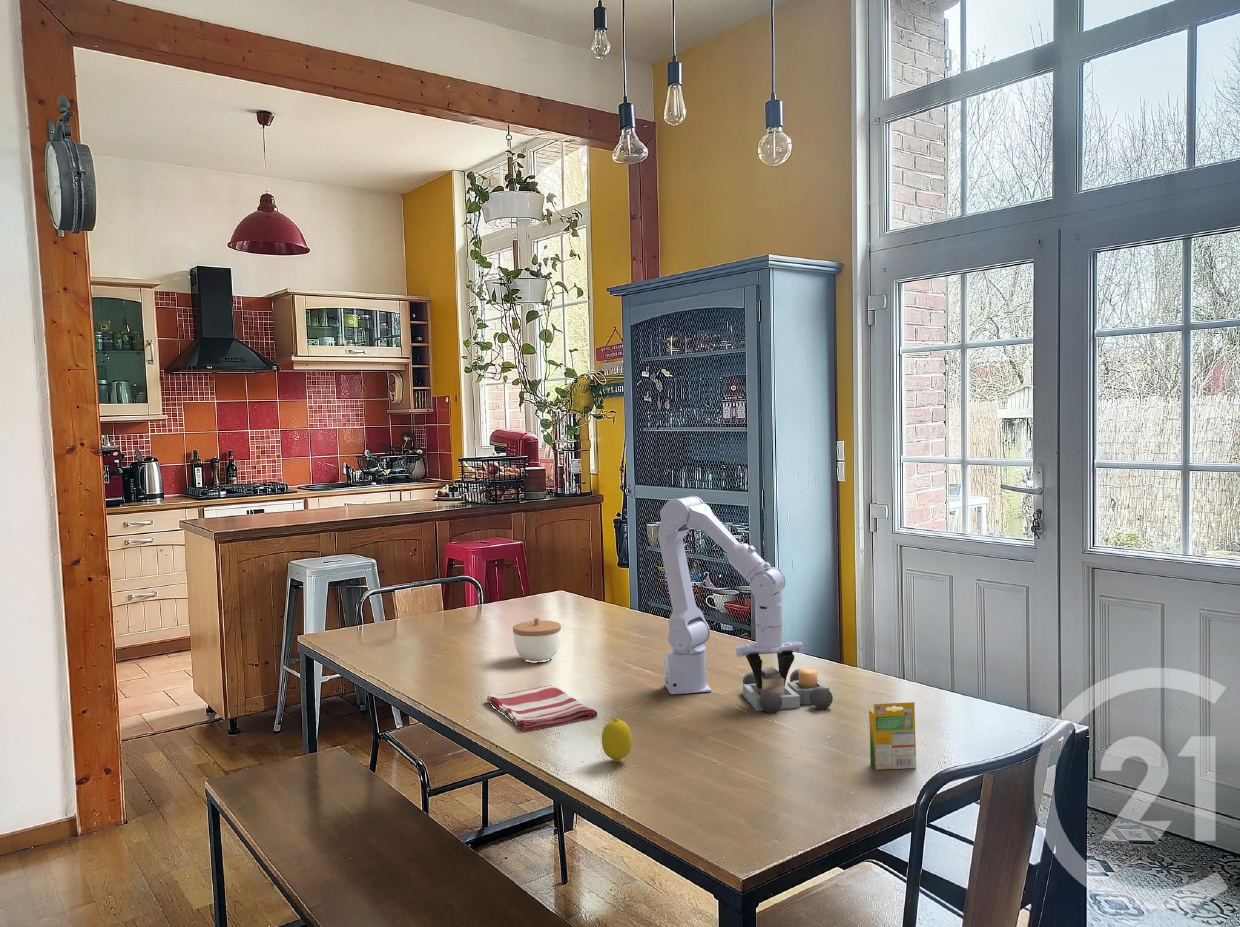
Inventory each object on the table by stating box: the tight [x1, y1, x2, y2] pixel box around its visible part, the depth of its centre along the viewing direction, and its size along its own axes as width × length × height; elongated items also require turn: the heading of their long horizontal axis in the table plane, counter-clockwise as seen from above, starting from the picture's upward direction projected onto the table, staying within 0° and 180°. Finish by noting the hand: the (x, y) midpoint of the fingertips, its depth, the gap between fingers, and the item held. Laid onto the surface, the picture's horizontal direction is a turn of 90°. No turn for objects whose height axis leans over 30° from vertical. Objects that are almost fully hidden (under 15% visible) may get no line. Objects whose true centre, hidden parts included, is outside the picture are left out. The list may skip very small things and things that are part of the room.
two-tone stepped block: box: [756, 666, 785, 696], centre depth 189 cm, size 4×6×6 cm
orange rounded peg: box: [799, 668, 818, 689], centre depth 190 cm, size 4×4×4 cm
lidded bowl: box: [512, 617, 562, 661], centre depth 229 cm, size 13×13×11 cm
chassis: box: [742, 668, 834, 714], centre depth 189 cm, size 17×15×4 cm
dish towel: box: [486, 684, 598, 732], centre depth 189 cm, size 17×23×3 cm
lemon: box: [601, 717, 633, 763], centre depth 157 cm, size 6×6×8 cm
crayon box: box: [868, 701, 917, 771], centre depth 151 cm, size 7×3×12 cm, turn 92°
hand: (770, 686), depth 189 cm, fingers closed on two-tone stepped block, 4 cm apart
